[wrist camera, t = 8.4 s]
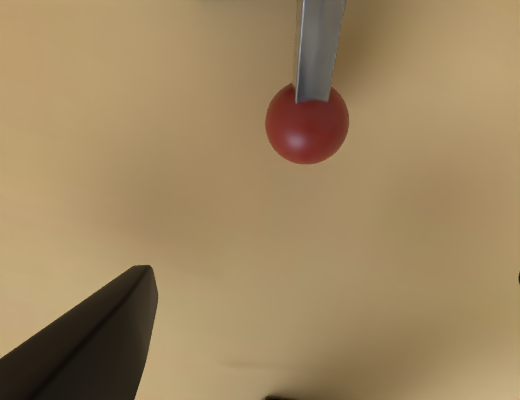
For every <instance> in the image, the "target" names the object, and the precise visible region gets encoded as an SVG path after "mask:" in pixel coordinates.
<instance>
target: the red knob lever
mask: <svg viewBox="0 0 520 400" xmlns="http://www.w3.org/2000/svg"><path fill="white" fill-rule="evenodd" d="M345 3H346V0H298V1H297V17H296V33H295V49H294V65H293V81H292V83H291V84H289V85H287V86H285V87H284V88H283V89H281V90H280V91H279V92H278V93H277V94H276V95H275V97H274V98H273V99H272V101H271V103H270V105H269V107H268V110H267V114H266V120H265V126H266V133H267V137H268V139H269V142H270V143H271V145H272V147H273V148H274V150H275V151H276V152H277V153H278V154H279V155H281V156H282V157H283V158H285V159H286V160H288V161H291V162H293V163H297V164H315V163H319V162H321V161H324V160H326V159H327V158H329V157H331V156H332V155H333V154H334V153H335V152H336V151H337V150H338V149H339V148H340V146H341V145H342V144H343V142H344V140H345V138H346V135H347V132H348V127H349V115H348V110H347V107H346V104H345V102H344V100H343V99H342V97H341V95H340V94H339V93H338V92H337V91H336V90H335V89H334V88H333V87H331V84H332V78H333V72H334V66H335V61H336V55H337V49H338V43H339V38H340V32H341V26H342V20H343V14H344V9H345Z"/></svg>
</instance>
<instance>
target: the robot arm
mask: <svg viewBox="0 0 520 400" xmlns="http://www.w3.org/2000/svg"><path fill="white" fill-rule="evenodd" d="M519 283H520V273H519ZM157 304H158V291H157V286H156V281H155V276H154V272H153V269H152V267H151V266H150V265H138V266H133V267H131V268H130V269H128V270H127V271H125V272H124V273H122V274H121V275H120V276H118V277H117V278H115V279H114V280H112V281H111V282H109V283H108V284H107V285H105V286H104V287H102V288H101V289H99V290H98V291H97V292H95V293H94V294H92V295H91V296H89V297H88V298H87V299H85V300H84V301H82V302H81V303H79V304H78V305H77V306H75V307H74V308H72V309H71V310H69V311H68V312H67V313H65V314H64V315H62V316H61V317H59V318H58V319H57V320H55V321H54V322H52V323H51V324H49V325H48V326H47V327H45V328H44V329H42V330H41V331H39V332H38V333H37V334H35V335H34V336H32V337H31V338H29V339H28V340H26V341H25V342H24V343H22V344H21V345H19V346H18V347H16V348H15V349H14V350H12V351H11V352H9V353H8V354H6V355H5V356H4V357H2V358H1V359H0V400H134V399H135V396H136V393H137V389H138V386H139V383H140V380H141V377H142V374H143V370H144V367H145V363H146V359H147V355H148V350H149V345H150V340H151V335H152V329H153V324H154V319H155V314H156V309H157ZM266 400H278V399H266Z"/></svg>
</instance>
